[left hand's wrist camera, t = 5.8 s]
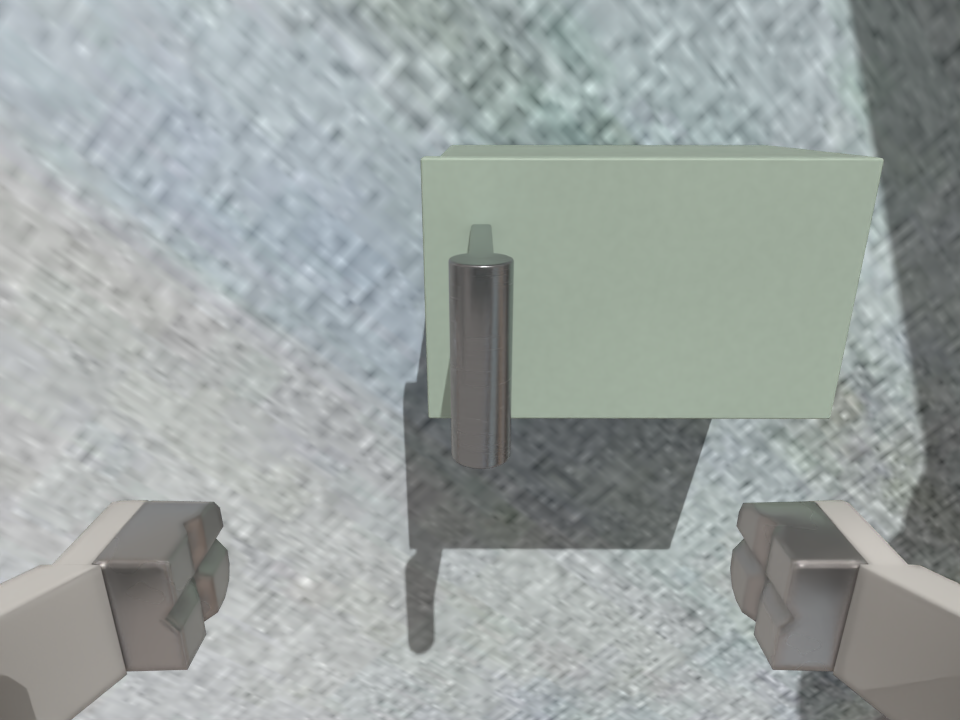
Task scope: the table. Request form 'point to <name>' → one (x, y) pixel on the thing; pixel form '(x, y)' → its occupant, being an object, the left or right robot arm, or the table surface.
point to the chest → (637, 151)
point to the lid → (637, 288)
